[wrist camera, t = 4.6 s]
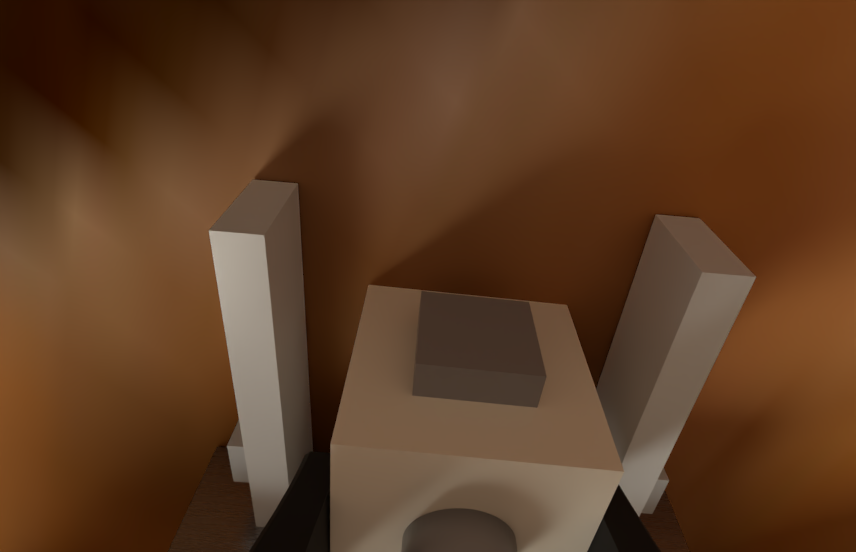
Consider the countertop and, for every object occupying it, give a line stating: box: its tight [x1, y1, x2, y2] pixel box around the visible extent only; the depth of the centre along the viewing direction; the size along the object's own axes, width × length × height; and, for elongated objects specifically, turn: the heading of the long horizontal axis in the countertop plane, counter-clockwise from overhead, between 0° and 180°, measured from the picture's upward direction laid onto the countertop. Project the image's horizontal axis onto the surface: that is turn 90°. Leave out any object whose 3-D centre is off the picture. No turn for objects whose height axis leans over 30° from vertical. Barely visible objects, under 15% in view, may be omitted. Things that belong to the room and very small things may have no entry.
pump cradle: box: [209, 180, 756, 527], centre depth 13 cm, size 9×11×2 cm
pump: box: [330, 285, 624, 552], centre depth 12 cm, size 6×5×6 cm
